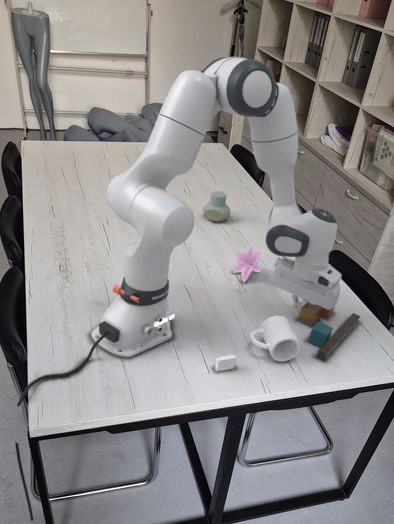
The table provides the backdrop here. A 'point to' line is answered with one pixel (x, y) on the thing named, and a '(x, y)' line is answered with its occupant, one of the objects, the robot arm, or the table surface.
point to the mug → (277, 338)
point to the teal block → (320, 334)
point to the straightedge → (338, 337)
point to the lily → (248, 262)
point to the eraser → (225, 363)
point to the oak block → (309, 313)
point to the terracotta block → (326, 312)
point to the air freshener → (217, 207)
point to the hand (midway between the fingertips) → (298, 308)
